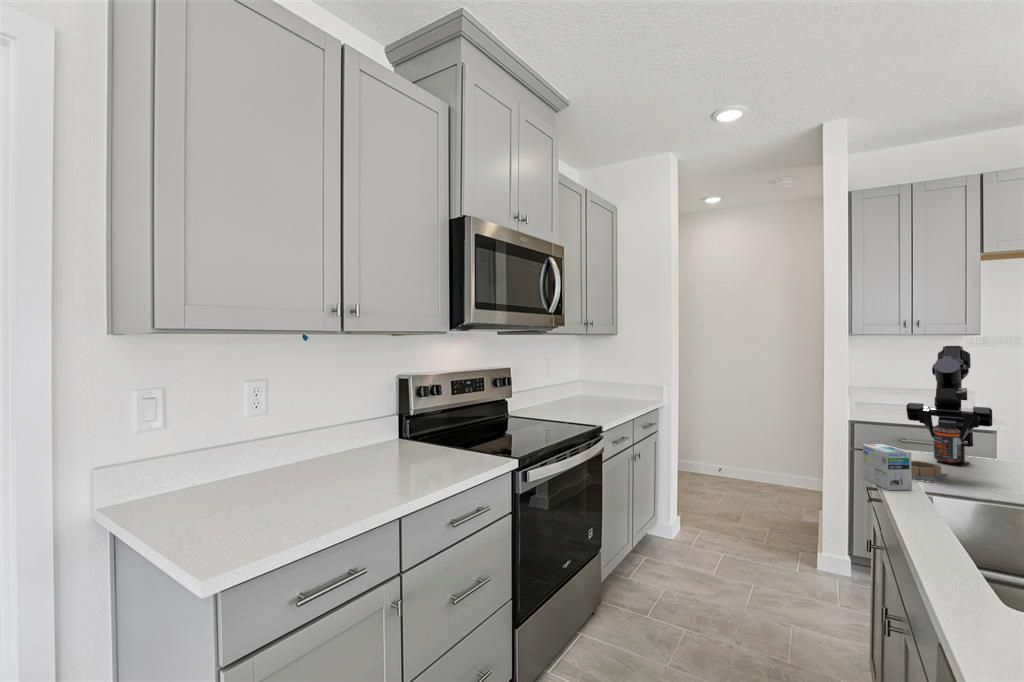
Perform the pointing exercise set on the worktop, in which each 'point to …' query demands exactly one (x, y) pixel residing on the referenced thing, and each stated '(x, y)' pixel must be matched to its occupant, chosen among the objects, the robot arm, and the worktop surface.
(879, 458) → the light bulb box
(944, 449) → the supplement bottle
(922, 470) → the bottle socket
